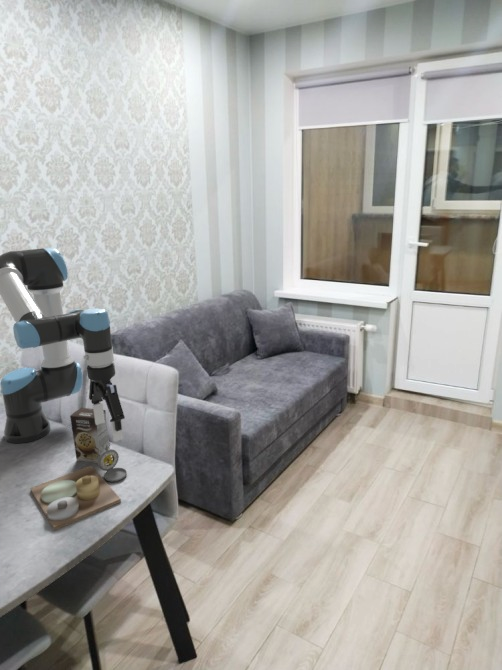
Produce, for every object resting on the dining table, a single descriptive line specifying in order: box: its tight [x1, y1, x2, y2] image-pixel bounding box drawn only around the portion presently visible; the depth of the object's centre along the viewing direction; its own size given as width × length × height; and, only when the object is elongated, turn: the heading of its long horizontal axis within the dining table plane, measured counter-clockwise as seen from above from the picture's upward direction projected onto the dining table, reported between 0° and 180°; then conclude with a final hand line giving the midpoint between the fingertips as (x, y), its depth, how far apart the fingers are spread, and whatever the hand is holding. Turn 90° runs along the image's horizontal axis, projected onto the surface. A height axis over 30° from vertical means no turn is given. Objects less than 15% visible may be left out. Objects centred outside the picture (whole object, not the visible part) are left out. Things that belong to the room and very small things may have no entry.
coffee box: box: [69, 407, 111, 464], centre depth 152 cm, size 9×6×16 cm
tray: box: [30, 465, 122, 531], centre depth 134 cm, size 22×18×6 cm
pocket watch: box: [97, 442, 128, 483], centre depth 143 cm, size 8×8×10 cm
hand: (109, 431), depth 140 cm, fingers open, 13 cm apart
